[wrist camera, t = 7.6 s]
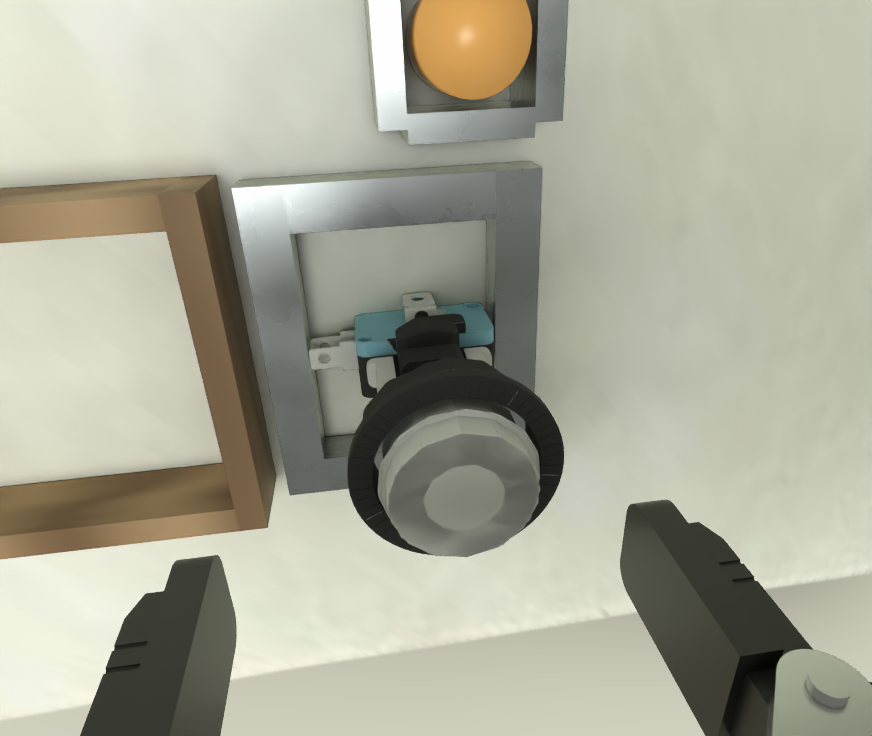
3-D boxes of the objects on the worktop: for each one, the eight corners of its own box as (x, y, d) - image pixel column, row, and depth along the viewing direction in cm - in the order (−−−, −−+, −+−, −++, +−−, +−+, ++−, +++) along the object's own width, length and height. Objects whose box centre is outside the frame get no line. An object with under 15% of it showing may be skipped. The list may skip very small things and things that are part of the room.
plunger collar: (538, -66, 18) (572, -89, 15) (533, 126, 20) (561, 135, 17) (359, -61, 17) (361, -83, 15) (375, 135, 20) (380, 147, 17)
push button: (322, 402, 24) (306, 606, 15) (300, 270, 21) (266, 420, 12) (490, 383, 24) (571, 568, 15) (488, 253, 22) (583, 384, 13)
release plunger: (505, -22, 18) (533, -37, 15) (504, 91, 19) (530, 96, 16) (402, -18, 17) (412, -33, 15) (409, 97, 19) (419, 102, 16)
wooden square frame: (215, 174, 20) (194, 192, 17) (276, 478, 25) (267, 527, 22) (-229, 203, 18) (-328, 227, 16) (-64, 515, 24) (-116, 573, 21)
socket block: (529, 160, 21) (542, 167, 19) (522, 446, 26) (531, 467, 24) (239, 179, 20) (231, 188, 18) (292, 472, 25) (289, 495, 24)
